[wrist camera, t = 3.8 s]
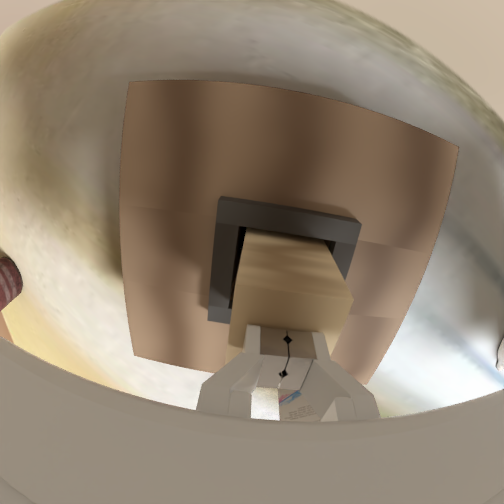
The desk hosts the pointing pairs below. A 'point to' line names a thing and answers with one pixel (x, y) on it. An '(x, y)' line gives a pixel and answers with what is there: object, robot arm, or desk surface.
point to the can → (9, 282)
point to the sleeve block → (269, 209)
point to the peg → (287, 288)
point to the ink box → (295, 407)
